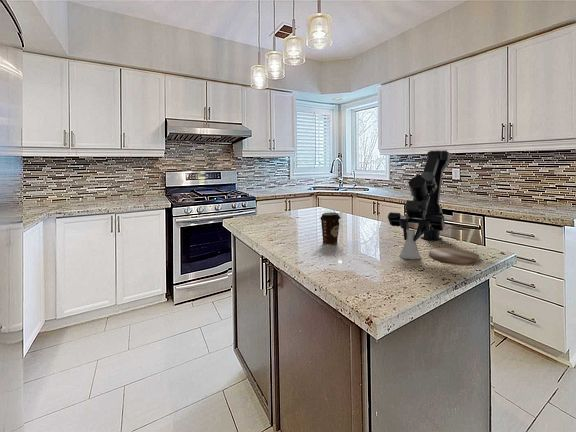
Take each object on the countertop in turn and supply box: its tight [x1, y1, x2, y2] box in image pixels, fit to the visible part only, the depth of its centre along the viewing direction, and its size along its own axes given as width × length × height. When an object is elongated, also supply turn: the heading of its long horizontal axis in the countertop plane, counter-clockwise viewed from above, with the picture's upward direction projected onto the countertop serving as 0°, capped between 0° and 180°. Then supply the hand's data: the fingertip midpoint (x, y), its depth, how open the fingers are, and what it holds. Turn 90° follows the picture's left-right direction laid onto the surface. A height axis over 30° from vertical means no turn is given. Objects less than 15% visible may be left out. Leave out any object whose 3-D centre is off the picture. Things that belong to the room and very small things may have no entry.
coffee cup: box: [319, 212, 341, 246], centre depth 135 cm, size 9×8×13 cm
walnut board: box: [428, 247, 481, 265], centre depth 113 cm, size 16×16×1 cm
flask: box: [399, 228, 421, 260], centre depth 113 cm, size 7×7×10 cm
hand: (409, 240), depth 111 cm, fingers closed on flask, 3 cm apart
